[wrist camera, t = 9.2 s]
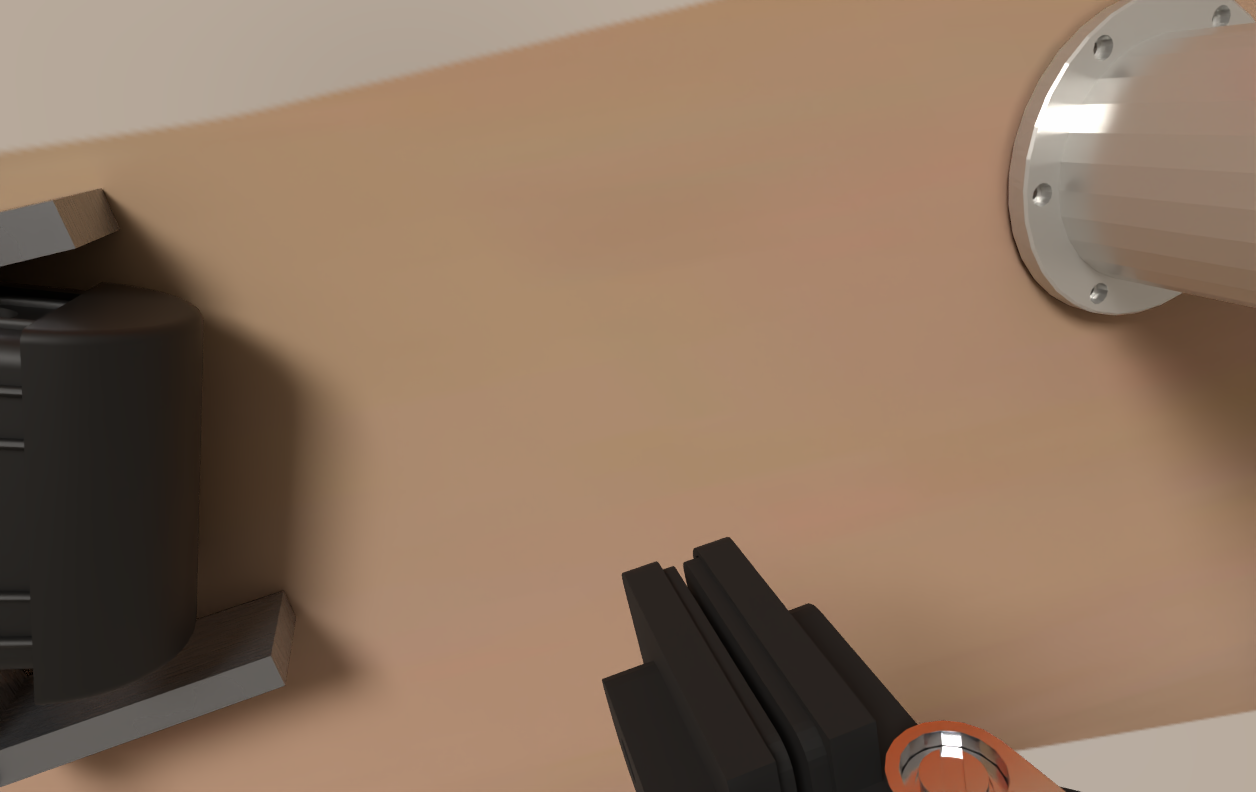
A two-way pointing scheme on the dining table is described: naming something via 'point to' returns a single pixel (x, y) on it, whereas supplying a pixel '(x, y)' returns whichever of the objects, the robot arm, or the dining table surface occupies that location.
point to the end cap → (97, 484)
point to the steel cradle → (221, 643)
